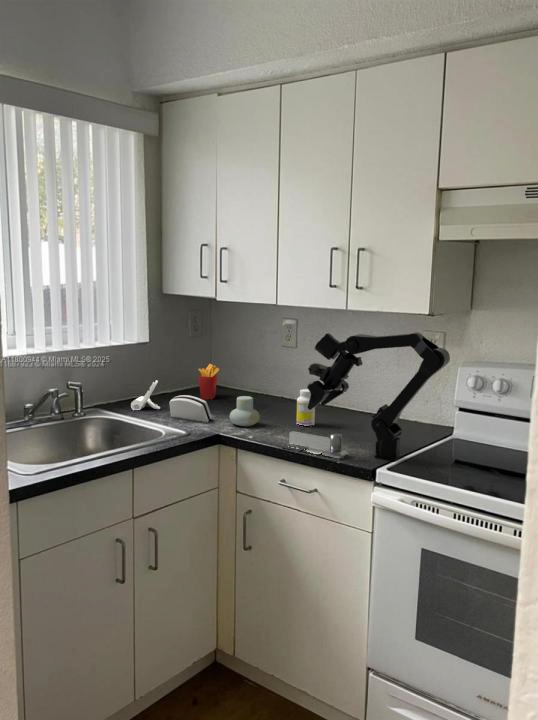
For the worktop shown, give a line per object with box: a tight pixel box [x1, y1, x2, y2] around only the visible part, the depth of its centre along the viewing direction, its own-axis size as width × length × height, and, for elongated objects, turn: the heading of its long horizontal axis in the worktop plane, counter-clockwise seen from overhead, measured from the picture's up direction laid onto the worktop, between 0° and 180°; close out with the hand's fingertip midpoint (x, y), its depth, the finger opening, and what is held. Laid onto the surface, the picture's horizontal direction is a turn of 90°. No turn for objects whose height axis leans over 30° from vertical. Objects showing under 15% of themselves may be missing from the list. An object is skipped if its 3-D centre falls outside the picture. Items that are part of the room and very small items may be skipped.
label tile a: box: [306, 447, 327, 454], centre depth 208 cm, size 6×5×1 cm
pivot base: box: [321, 450, 350, 459], centre depth 205 cm, size 6×6×1 cm
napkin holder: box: [169, 394, 215, 423], centre depth 247 cm, size 17×5×10 cm, turn 61°
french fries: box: [197, 363, 220, 401], centre depth 283 cm, size 9×8×15 cm
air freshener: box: [229, 395, 260, 427], centre depth 240 cm, size 11×8×10 cm
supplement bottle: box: [296, 388, 316, 426], centre depth 241 cm, size 7×7×13 cm
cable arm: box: [288, 430, 343, 453], centre depth 208 cm, size 18×4×5 cm, turn 58°
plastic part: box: [130, 379, 161, 411], centre depth 261 cm, size 8×10×12 cm
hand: (315, 407), depth 215 cm, fingers open, 9 cm apart
